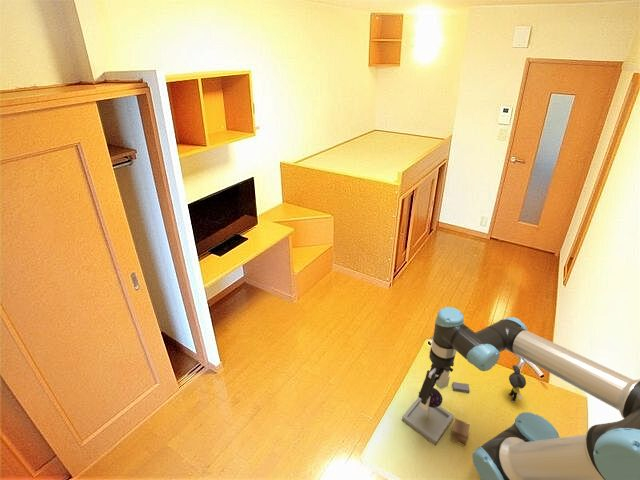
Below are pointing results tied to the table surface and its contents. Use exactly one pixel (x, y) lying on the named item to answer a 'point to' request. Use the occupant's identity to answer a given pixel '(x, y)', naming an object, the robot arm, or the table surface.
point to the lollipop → (434, 400)
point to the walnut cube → (460, 431)
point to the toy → (516, 383)
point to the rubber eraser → (460, 387)
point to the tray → (428, 421)
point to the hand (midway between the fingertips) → (433, 395)
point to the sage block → (441, 383)
